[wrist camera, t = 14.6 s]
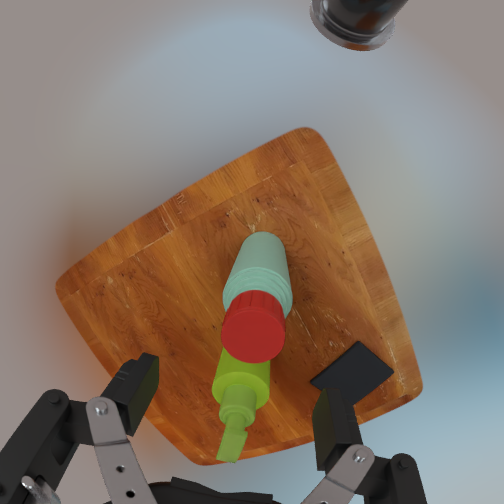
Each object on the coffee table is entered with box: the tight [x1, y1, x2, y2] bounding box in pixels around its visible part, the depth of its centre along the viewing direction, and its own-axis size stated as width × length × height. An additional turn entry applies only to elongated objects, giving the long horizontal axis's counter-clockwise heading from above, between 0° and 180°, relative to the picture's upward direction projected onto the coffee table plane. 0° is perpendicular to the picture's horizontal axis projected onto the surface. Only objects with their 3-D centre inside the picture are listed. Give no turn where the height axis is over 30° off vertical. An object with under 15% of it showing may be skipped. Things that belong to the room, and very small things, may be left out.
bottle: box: [223, 232, 292, 318], centre depth 27 cm, size 6×6×19 cm
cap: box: [221, 290, 286, 364], centre depth 19 cm, size 4×4×3 cm
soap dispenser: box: [212, 346, 270, 463], centre depth 30 cm, size 6×7×20 cm
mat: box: [310, 341, 394, 406], centre depth 41 cm, size 10×10×1 cm
